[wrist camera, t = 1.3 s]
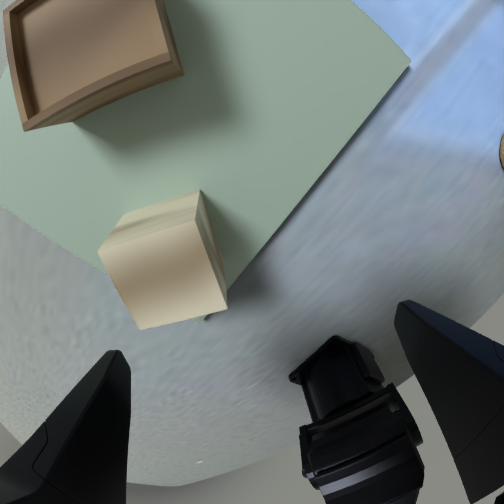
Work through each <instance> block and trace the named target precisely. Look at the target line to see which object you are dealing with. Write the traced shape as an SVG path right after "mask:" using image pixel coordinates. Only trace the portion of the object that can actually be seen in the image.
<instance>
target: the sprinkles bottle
mask: <svg viewBox="0 0 504 504" xmlns="http://www.w3.org/2000/svg"><path fill="white" fill-rule="evenodd" d="M500 158H501V163H502V166H503V167H504V134H503V137H502V140H501V145H500Z"/></svg>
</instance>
